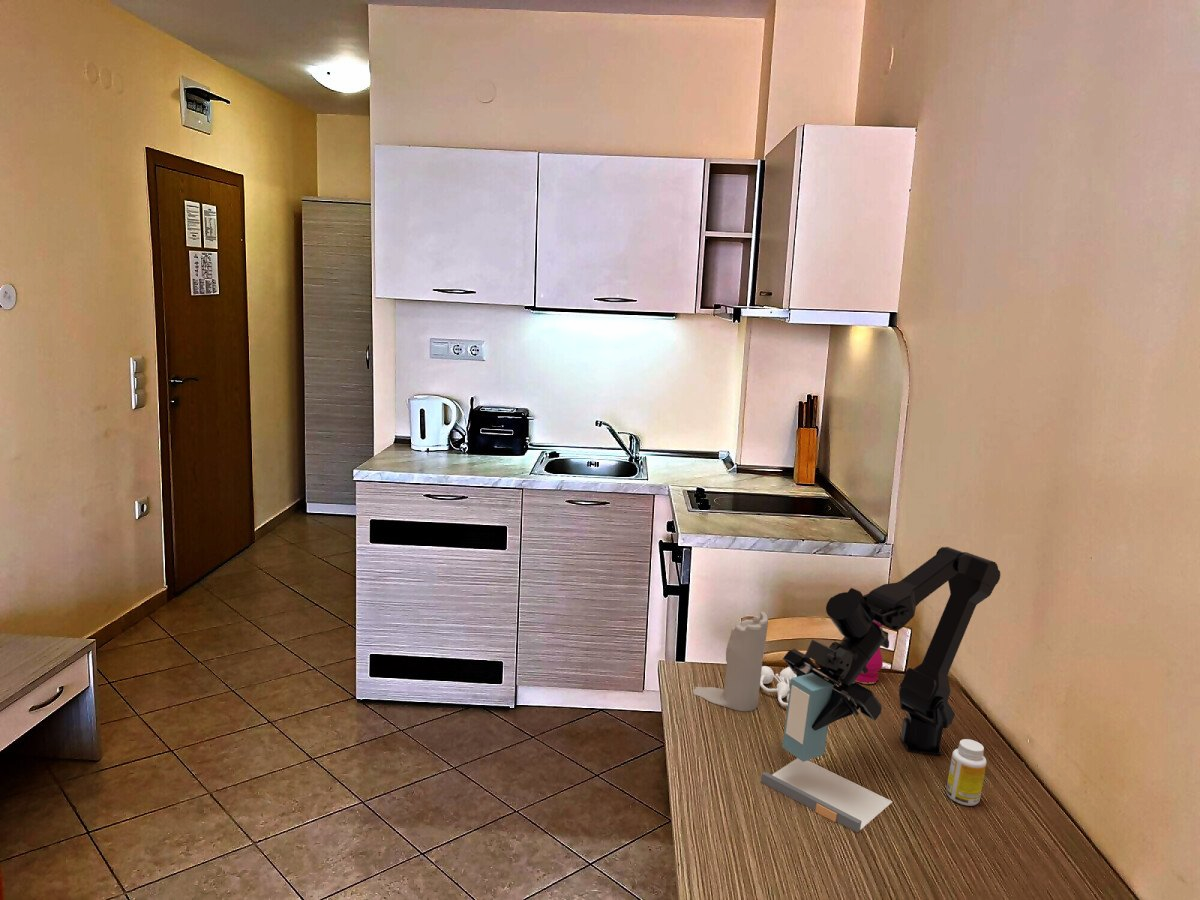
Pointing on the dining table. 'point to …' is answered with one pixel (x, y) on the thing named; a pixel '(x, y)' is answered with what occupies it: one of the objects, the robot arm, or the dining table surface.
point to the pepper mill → (872, 666)
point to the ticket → (826, 812)
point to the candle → (741, 667)
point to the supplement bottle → (966, 773)
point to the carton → (806, 716)
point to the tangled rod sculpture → (782, 686)
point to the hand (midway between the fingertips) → (801, 721)
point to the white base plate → (827, 792)
